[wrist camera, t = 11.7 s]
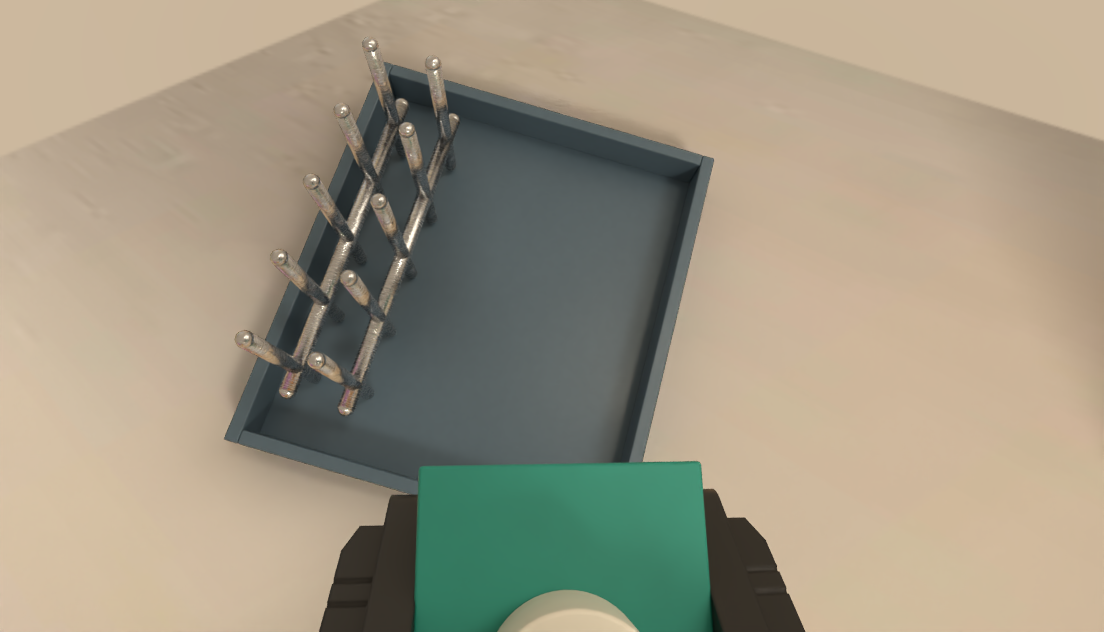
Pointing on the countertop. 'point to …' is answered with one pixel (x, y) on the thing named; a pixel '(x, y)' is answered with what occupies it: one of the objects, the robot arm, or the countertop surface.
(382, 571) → the robot arm
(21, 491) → the countertop surface
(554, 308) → the drip tray
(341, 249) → the dish rack
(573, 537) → the detergent bottle
